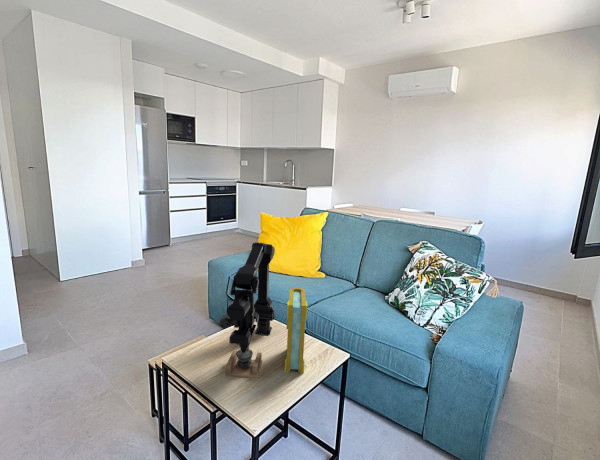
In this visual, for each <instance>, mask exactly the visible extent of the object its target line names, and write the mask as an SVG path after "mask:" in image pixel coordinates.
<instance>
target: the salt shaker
mask: <svg viewBox="0 0 600 460" xmlns="http://www.w3.org/2000/svg"><path fill="white" fill-rule="evenodd" d="M250 344H251V341H250V342H249V344H248V347H247V349H246V352H245V353H242V351H241V348H240V347H239V348H240V349H238V350H236V351H237V353H236V356H237V358H238V361H237V365H238V366H240V367H247V366H250V365H251V364H252V360H253V359H252V358H253V355H254V352H253V350H251V349H250ZM251 359H252V360H251Z"/></svg>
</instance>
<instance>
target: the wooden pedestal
mask: <svg viewBox="0 0 600 460" xmlns="http://www.w3.org/2000/svg"><path fill="white" fill-rule="evenodd" d="M237 351H238V350H232V352H231V355H230V356H229V358H228V360H227V362H226V365H225V367H226V368H225V369H226V370H225V372H224V373H225V376H227V377H228V376H229V377H239V378H240V377H241V378H252V379H253V378H254V379H258V378H259V374H260V372H261V371H260V370H261V367H262V364H263V360H262V356H263V355H262V352H259V351H257V353H256V355H255V359H252V358H251V360H252V364H251V365H250V366H247V367H240V366H238V365H237V361H238V358H237V356H236V353H237Z"/></svg>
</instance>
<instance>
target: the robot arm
mask: <svg viewBox="0 0 600 460" xmlns="http://www.w3.org/2000/svg"><path fill="white" fill-rule="evenodd" d="M275 249H276V248H275V246H273V244H271V243H265V242H257V241H255V242H253V243H252V244H251V250H250V252H249V254H248V257H247V259H246V262H245V264H244V265H243V266H242V267H239V268H238V269H237V272H236V274H234V275H233V278H232V284H231V288H230V292H229V293H230V294H229V295H230V296H234V297H233V300H232V301H231V303H230V304H229V305H228V307H227V309H226V314H222V316H221V317H220V319H219V327H221V328H222V329H223V330H224V329H227V328H229V327H230V328H231V327H233V328H236V329H234V330H233V331H232V332H231V333H230V336H229V338H228V339H229V344H230V345H239V348H241V351H242V353H245V352H246V349H247V347H248V344H249V342H250V343H251V340H252V337H253V334H255V335H263V336H265V335H267V336H270V335H271V332H272V329H273V327H272V326H271V322H273V321H274V320H275V319H276V314H275V313H276V312H275V309H274V307H273V301H272V299H271V298H270V296H269V295H270V293H269V290H270V289H269V288H270V287H269V286H270V285H269V284H270V264H271V262H272V260H273V259H274V256H275V252H276V251H275ZM255 294H257V299H256V301H255ZM255 323H256V324H255ZM249 345H250V344H249Z"/></svg>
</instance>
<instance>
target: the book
mask: <svg viewBox="0 0 600 460" xmlns="http://www.w3.org/2000/svg"><path fill="white" fill-rule="evenodd" d="M286 307H287V308H286V309H287V310H286V330H287V340H286V341H287V342H286V343H287V344H286V358H284V359H285V360H284V373H288V374H289V373H291V370H298V371H297V372H298V374H304V373H305V358H304V351H305V350H304V348H305V333H306V332H305V328H306V320H307V318H308V301H307V300H306V290H305V289H304V288H302V287H292V288H290V289H289V298H288V300H287V306H286Z"/></svg>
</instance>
